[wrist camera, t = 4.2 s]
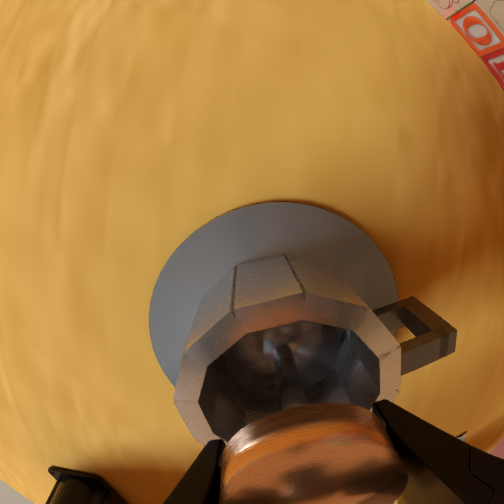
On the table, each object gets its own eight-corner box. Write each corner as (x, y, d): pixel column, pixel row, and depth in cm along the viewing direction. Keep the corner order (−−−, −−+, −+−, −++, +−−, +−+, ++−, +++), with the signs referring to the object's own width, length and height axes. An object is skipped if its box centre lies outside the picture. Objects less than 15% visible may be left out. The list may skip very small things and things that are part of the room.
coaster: (199, 435, 15) (198, 439, 15) (116, 242, 13) (113, 243, 12) (396, 387, 15) (399, 391, 14) (378, 176, 12) (382, 176, 12)
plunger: (241, 396, 13) (242, 550, 5) (211, 310, 12) (173, 479, 4) (340, 373, 13) (403, 513, 5) (326, 281, 12) (430, 419, 4)
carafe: (223, 410, 14) (218, 477, 10) (173, 279, 13) (139, 329, 8) (406, 360, 14) (447, 411, 9) (398, 223, 12) (461, 244, 8)
